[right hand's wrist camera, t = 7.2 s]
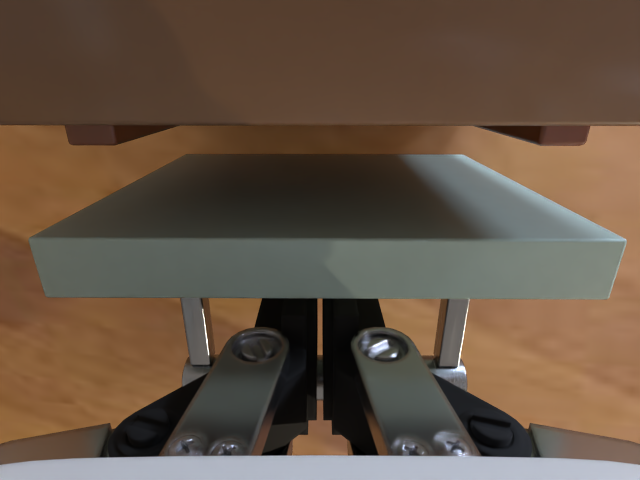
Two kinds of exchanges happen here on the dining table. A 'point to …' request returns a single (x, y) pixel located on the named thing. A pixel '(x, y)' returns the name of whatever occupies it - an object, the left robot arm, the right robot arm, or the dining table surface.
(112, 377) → the dining table surface
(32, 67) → the cabinet
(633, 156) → the dining table surface
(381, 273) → the drawer
